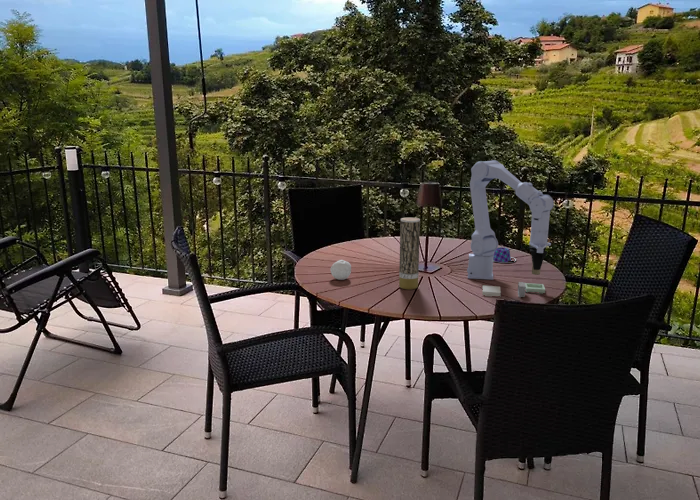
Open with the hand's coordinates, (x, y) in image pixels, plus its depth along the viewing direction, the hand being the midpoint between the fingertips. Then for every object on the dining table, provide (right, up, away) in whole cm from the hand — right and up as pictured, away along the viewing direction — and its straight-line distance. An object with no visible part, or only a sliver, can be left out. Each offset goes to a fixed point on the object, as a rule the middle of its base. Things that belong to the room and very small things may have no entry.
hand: (536, 268), depth 194 cm
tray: (0, -8, +2) cm, 8 cm away
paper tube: (-44, -7, +5) cm, 45 cm away
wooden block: (-6, -9, -4) cm, 12 cm away
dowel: (0, -2, +1) cm, 2 cm away
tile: (-16, -9, -1) cm, 19 cm away
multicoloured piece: (0, +2, +43) cm, 43 cm away
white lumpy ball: (-69, -5, +15) cm, 71 cm away
